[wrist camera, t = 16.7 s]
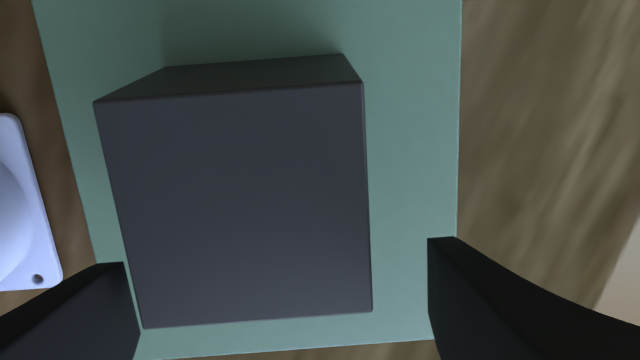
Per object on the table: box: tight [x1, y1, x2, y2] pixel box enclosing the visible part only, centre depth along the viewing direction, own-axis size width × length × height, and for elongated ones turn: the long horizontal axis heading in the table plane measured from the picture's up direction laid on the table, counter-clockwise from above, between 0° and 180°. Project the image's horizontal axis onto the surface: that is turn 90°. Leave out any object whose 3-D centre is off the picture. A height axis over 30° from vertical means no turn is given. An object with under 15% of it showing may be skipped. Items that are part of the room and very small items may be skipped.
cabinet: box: [31, 0, 462, 360], centre depth 18 cm, size 13×11×7 cm
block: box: [92, 53, 373, 330], centre depth 12 cm, size 5×5×5 cm
